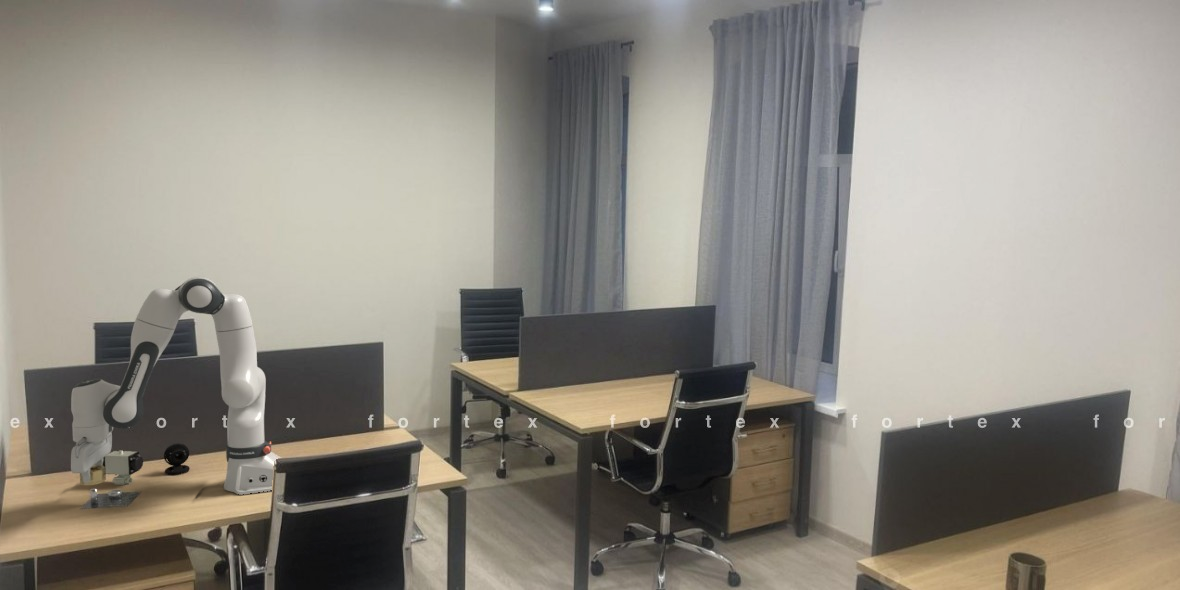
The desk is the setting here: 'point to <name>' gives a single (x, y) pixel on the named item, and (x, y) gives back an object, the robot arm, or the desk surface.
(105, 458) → the pneumatic valve
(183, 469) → the webcam
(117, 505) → the carrier
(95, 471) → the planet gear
